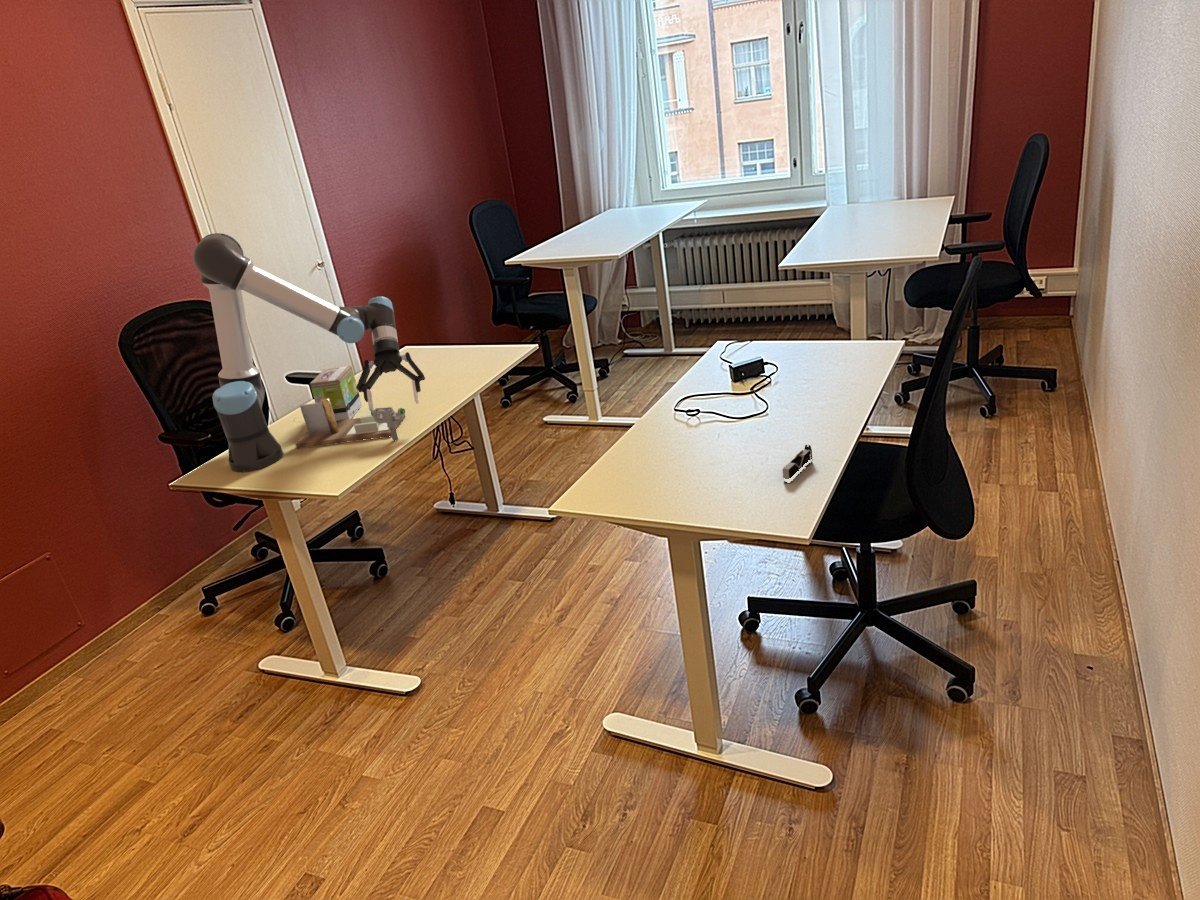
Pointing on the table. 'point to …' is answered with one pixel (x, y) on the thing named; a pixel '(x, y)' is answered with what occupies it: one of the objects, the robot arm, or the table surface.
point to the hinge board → (341, 435)
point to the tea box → (338, 391)
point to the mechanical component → (388, 418)
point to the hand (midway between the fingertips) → (394, 406)
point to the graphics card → (797, 462)
